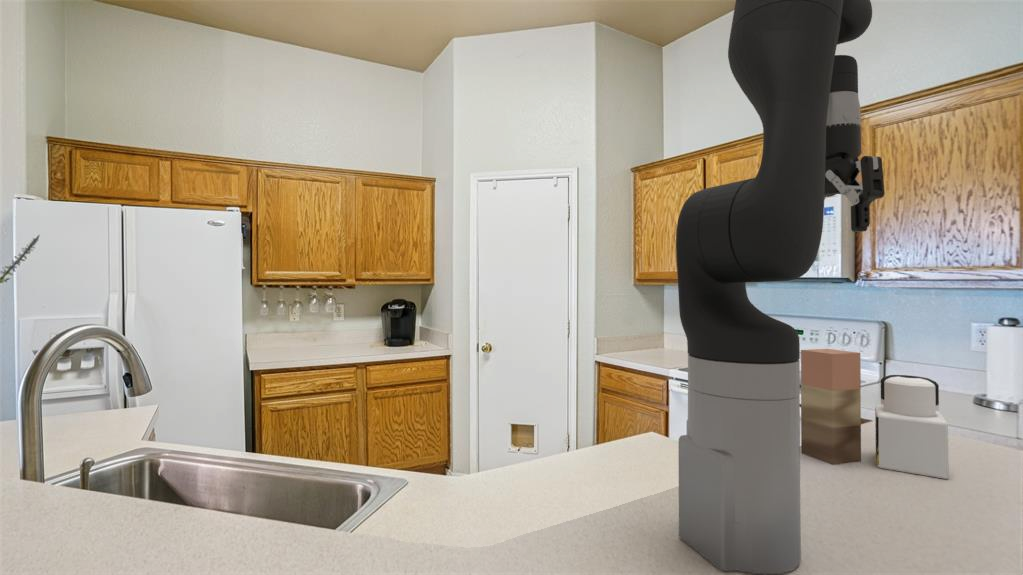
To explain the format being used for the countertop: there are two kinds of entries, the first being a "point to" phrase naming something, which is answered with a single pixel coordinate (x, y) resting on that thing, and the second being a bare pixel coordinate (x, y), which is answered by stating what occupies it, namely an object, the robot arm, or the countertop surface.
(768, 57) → the robot arm
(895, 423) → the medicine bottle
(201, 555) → the countertop surface
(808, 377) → the clay block
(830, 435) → the tower bottom
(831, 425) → the tower top
